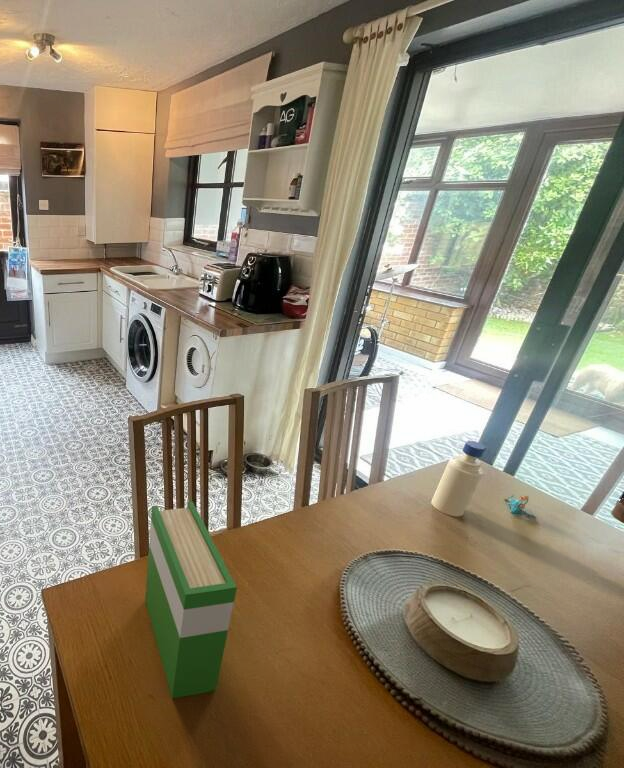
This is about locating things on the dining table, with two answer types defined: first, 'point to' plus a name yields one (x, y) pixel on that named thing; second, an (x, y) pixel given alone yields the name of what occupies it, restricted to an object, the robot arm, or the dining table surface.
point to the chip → (619, 510)
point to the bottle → (459, 480)
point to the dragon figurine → (519, 506)
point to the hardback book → (187, 600)
